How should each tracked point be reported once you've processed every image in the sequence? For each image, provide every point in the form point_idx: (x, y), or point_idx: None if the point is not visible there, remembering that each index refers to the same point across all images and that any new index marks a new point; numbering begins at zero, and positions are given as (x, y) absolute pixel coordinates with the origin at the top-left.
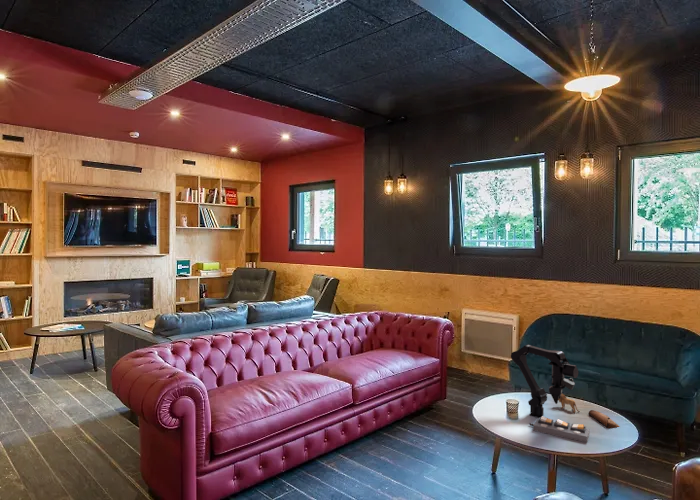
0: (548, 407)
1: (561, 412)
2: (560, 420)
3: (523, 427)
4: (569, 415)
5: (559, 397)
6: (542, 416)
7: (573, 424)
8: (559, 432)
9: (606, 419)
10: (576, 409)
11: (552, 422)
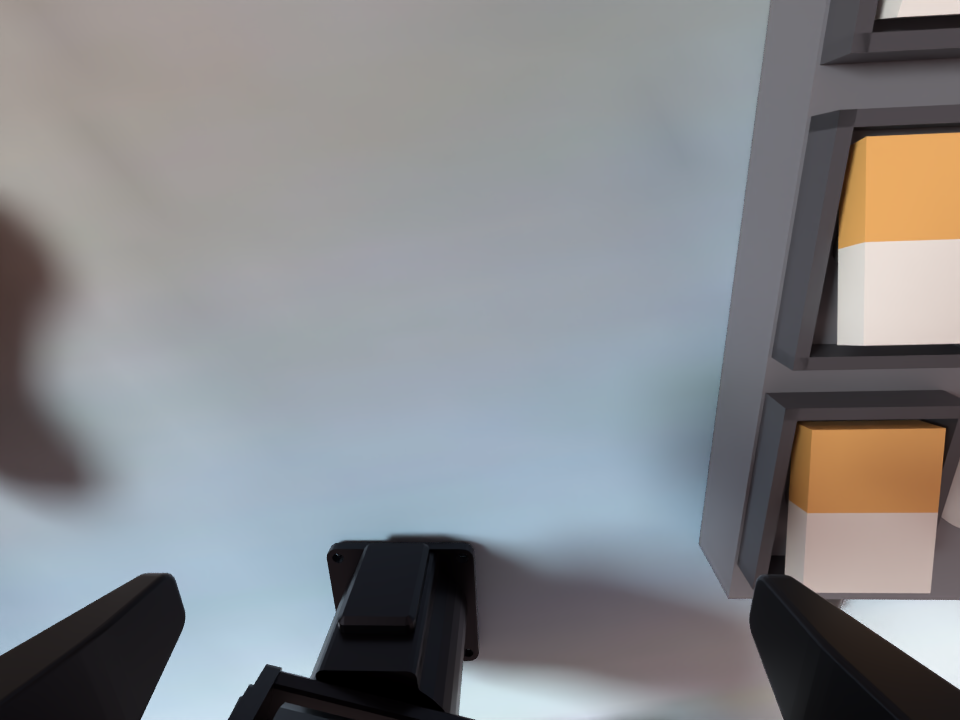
0: (54, 530)
1: (89, 367)
2: (885, 290)
3: None
4: (111, 247)
5: (145, 618)
6: (815, 583)
7: (913, 3)
8: None
9: None
10: None
11: (883, 402)
